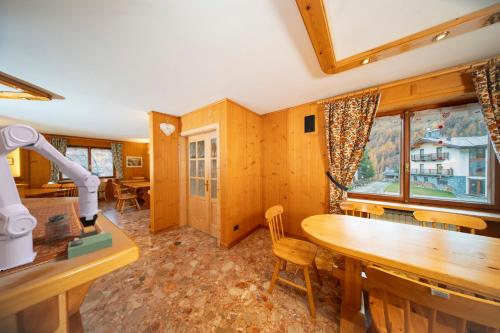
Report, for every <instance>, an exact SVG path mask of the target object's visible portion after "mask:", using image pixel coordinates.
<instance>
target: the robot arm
mask: <svg viewBox="0 0 500 333" xmlns="http://www.w3.org/2000/svg"><path fill="white" fill-rule="evenodd" d="M18 148H19V149H23V150H24V149H25V150H30V151H34V152H36V153H38V154H40V155H41V156H43V157H44V158H46V159H47V160H49V161H51V162H52V163H53V164H55V165H57V166H58V171H59V172H60V173H61V174H63V175H64V176H65V177H67V178H68V179H69V180H71V181H73V184H74V186H75V187H77V188H78V190H77V193H78V194H77V195H78V213H77V215H78V217H79V216H80V217H79V219H78V220H79V222H80V223H81V224H82V227H83V228H85V227H89V226H95V225H96V224H95V223H96V221H97V219H98V217H99V215H98V214H99V213H102V209H99V208H98V206H99V205H98V204H99V202H98V190H99V186H100V184H101V180H100V178H99V177H98V175H96V174H92V172H91V171H89V170H88V169H86V168H84V166H82V163H81V162H77V161H75V160H70V159H68V158H67V157H65V156H64V155H63V154H62V153H61V152H60V151H59V150H57V149H56V148H55V146H53V145H52V144H51V143H50V142H49V141H48V140H46V138H45V136H44V135H42V134H41V133H39V132H37V131H36V130H35V129H34V128H33V127H32V126H29V125H26V124H24V123H23V124H22V123H13V124H10V125H9V124H8V125H0V272H2V271H1V270H3V271H5V270H9V269H13V268H17V267H20V266H23V265H27V264H31V263H33V262H34V261H35V258H36V256H37V254H38V252H37V251H34V248H33V247H34V246H33V245H34V243H33V230H34V229H35V228H36V226H37V224H38V220H37V218H36V217H34V215H32V214H31V213H30V211H29V209H28V207H26V206H24V204H22V201H21V200H22V199H21V198H20V194H19V190H18V187H17V186H16V181H15V179H14V175H13V173H12V169H11V166H10V163H9V160H8V155H10V154H11V153H12V152H15V150H18Z"/></svg>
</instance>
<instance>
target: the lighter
mask: <svg viewBox="0 0 500 333" xmlns="http://www.w3.org/2000/svg"><path fill="white" fill-rule="evenodd" d="M68 215H69V213H68V212H63V213H59V214H53V215H51V216H49V217H47V219H48V221H47V222H44V224H43V226H44V228H45V229H44V234H45V235H44V236H45V239H44V242H45V243H49V242H53V241H56V240H59V239H62V238H64V237H67V236H69V235H71V234H72V231H71V216H68ZM66 216H67V217H66Z"/></svg>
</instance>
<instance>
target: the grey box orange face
mask: <svg viewBox="0 0 500 333" xmlns="http://www.w3.org/2000/svg"><path fill="white" fill-rule="evenodd" d="M79 231H80V239H82V238H86V237H90V236H94V235H98V234H99V230H98V228H97V226H96V225H94V226H89V227H85V228H84V227H82V229H79Z"/></svg>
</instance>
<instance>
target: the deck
mask: <svg viewBox="0 0 500 333" xmlns="http://www.w3.org/2000/svg"><path fill="white" fill-rule="evenodd" d="M109 246H110V247H113V237H112V235H111V231H109V232H108V231H107V232H105V231H104V230H101V231H100V232H99V233H98V235H94V236H90V237H86V238H82V239H81V238H80V236H78V237H74V240H72V241H69V242H68V246H67V259H68V260H70V259H74V258H76V257H79V256H83V255H86V254H87V255H88V254H90V253H93V252H96V251H100V250H103V249H106V248H110V247H109Z"/></svg>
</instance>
